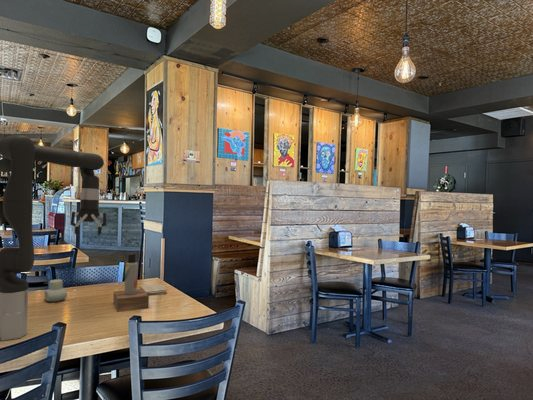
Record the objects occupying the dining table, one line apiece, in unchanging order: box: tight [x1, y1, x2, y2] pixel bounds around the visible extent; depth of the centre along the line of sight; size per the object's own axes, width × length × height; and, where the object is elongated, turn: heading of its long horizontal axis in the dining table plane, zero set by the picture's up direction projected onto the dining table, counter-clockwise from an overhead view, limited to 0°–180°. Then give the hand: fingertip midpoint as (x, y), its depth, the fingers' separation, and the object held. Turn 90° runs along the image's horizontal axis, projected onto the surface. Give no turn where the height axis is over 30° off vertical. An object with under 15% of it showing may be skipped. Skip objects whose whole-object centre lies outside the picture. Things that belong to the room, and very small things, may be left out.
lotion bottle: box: [124, 252, 139, 295], centre depth 180 cm, size 6×6×20 cm
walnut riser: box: [113, 288, 150, 313], centre depth 180 cm, size 14×14×6 cm
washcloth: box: [139, 283, 167, 297], centre depth 209 cm, size 12×18×3 cm, turn 31°
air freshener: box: [43, 278, 68, 303], centre depth 185 cm, size 11×8×10 cm
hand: (88, 235), depth 164 cm, fingers open, 8 cm apart
